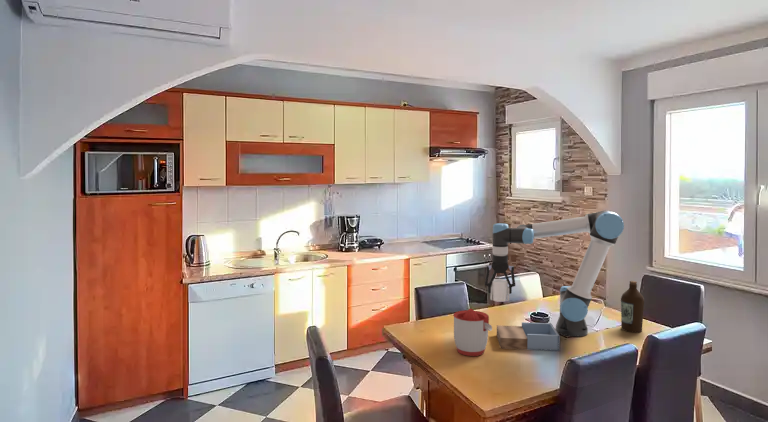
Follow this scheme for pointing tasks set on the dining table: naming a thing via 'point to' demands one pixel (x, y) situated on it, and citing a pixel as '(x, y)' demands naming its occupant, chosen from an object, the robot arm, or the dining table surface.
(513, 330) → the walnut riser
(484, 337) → the citrus juicer
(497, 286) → the white cup
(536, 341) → the box
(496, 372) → the dining table surface
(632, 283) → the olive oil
